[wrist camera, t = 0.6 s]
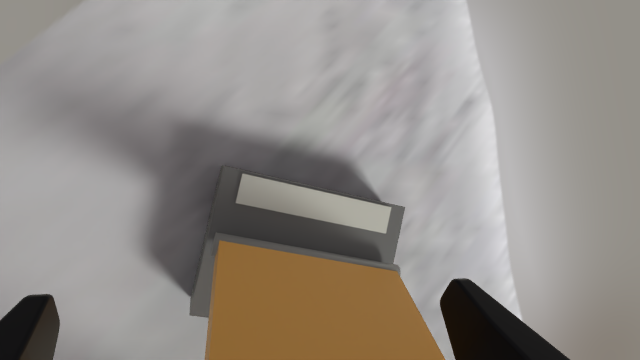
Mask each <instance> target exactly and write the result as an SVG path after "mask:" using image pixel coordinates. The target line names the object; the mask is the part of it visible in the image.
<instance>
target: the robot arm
mask: <svg viewBox="0 0 640 360" xmlns="http://www.w3.org/2000/svg"><path fill="white" fill-rule="evenodd" d="M440 307H441V311H442V314H443V318H444V321H445V325H446V328H447V332H448V335H449V339H450V342H451V346H452V349H453V353H454V356H455V359H456V360H570V359H569V358H567V357H566V356H565V355H563V354H562V353H561V352H560V351H559V350H557V349H556V348H555V347H553V346H552V345H551V344H550V343H549V342H547V341H546V340H545V339H544V338H542V337H541V336H540V335H539V334H537V333H536V332H535V331H533V330H532V329H531V328H530V327H528V326H527V325H526V324H525V323H524V322H522V321H521V320H520V319H519V318H517V317H516V316H515V315H514V314H512V313H511V312H510V311H509V310H507V309H506V308H505V307H504V306H502V305H501V304H500V303H499V302H497V301H496V300H495V299H494V298H492V297H491V296H490V295H489V294H487V293H486V292H485V291H484V290H482V289H481V288H480V287H479V286H477V285H476V284H475V283H474V282H472V281H471V280H469V279H466V278H462V279H453V280H452V281H451V282H450V284H449V285H448V287H447V289H446V290H445V292H444V294H443V295H442V297H441V300H440ZM59 327H60V320H59V316H58V312H57V308H56V305H55V301H54V298H53V296H52V295H50V294H41V295H28V296H26V297H25V298H23V299H22V300H21V301H20V302H19V303H18V304H17V305H16V306H15V307H14V308H13V309H12V310H11V311H10V312H8V313H7V314H6V315H5V316H4V317H3V318H2V319H1V320H0V360H53V356H54V352H55V347H56V342H57V338H58V333H59Z"/></svg>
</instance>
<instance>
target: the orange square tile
mask: <svg viewBox="0 0 640 360" xmlns="http://www.w3.org/2000/svg"><path fill="white" fill-rule="evenodd" d="M211 256H213V257H215V261H214V271H213V281H212V291H211V301H210V311H209V321H208V331H207V341H206V351H205V360H445V358H444V356H443V355H442V353H441V351H440V349H439V347H438V345H437V344H436V342H435V340H434V338H433V336H432V334H431V333H430V331H429V329H428V327H427V325H426V323H425V322H424V320H423V318H422V316H421V314H420V312H419V311H418V309H417V307H416V305H415V303H414V301H413V300H412V298H411V296H410V294H409V292H408V290H407V289H406V287H405V285H404V283H403V281H402V279H401V278H400V268H399V266H398V265H395V264H389V263H384V262H378V261H373V260H367V259H361V258H356V257H350V256H345V255H339V254H334V253H328V252H323V251H317V250H312V249H306V248H300V247H295V246H289V245H284V244H278V243H273V242H267V241H262V240H256V239H250V238H245V237H239V236H234V235H228V234H223V233H217V232H216V234H215V237H214V241H213V245H212V250H211Z"/></svg>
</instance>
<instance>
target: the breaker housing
mask: <svg viewBox="0 0 640 360" xmlns="http://www.w3.org/2000/svg"><path fill="white" fill-rule="evenodd" d="M404 210H405V207H402V206H398V205H394V204H389V203H385V202H380V201H376V200H372V199H367V198H363V197H359V196H354V195H350V194H346V193H341V192H337V191H333V190H328V189H324V188H320V187H315V186H311V185H307V184H302V183H298V182H293V181H289V180H285V179H280V178H276V177H272V176H267V175H263V174H259V173H254V172H250V171H246V170H241V169H237V168H233V167H228V166H221V170H220V174H219V178H218V183H217V187H216V191H215V195H214V200H213V204H212V208H211V213H210V217H209V221H208V225H207V230H206V234H205V238H204V243H203V247H202V251H201V255H200V260H199V264H198V268H197V273H196V277H195V281H194V285H193V290H192V294H191V300H190V315H191V316H200V317H208V318H209V311H210V301H211V291H212V281H213V271H214V261H215V257H213V256H211V250H212V245H213V241H214V237H215V234H216V232H217V233H223V234H228V235H234V236H239V237H245V238H250V239H256V240H262V241H267V242H273V243H278V244H284V245H289V246H295V247H300V248H306V249H312V250H317V251H323V252H328V253H334V254H339V255H345V256H350V257H356V258H361V259H367V260H373V261H378V262H384V263H389V264H393V262H394V257H395V252H396V248H397V243H398V238H399V233H400V229H401V224H402V219H403V214H404Z"/></svg>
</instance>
